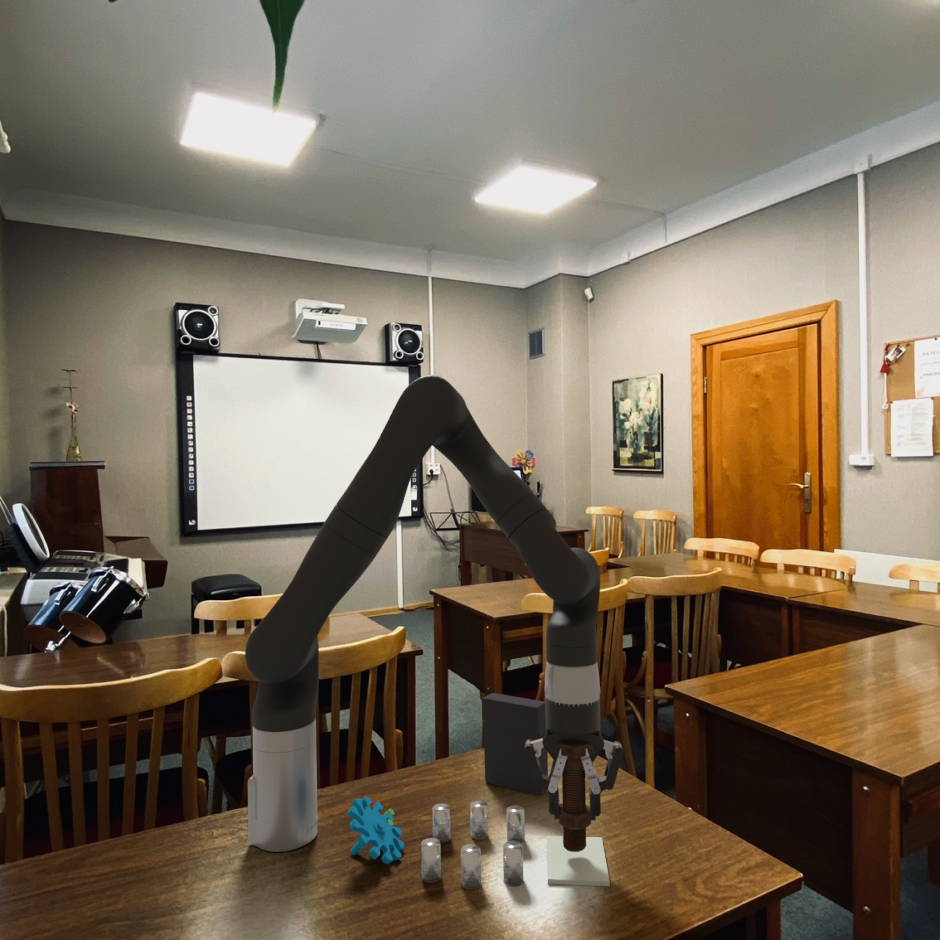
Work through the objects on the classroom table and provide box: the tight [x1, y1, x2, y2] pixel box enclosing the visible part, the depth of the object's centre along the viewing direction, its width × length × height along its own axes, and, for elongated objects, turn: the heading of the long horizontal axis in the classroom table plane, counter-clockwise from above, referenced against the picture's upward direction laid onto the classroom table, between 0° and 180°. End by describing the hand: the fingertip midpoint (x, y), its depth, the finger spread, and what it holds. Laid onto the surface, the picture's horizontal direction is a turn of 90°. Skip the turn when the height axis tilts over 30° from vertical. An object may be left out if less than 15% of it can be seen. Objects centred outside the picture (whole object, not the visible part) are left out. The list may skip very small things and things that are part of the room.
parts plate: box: [546, 835, 611, 887], centre depth 95 cm, size 8×11×1 cm
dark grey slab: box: [481, 692, 549, 797], centre depth 119 cm, size 11×4×15 cm, turn 58°
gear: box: [347, 796, 405, 865], centre depth 98 cm, size 11×6×10 cm
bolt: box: [556, 742, 593, 852], centre depth 95 cm, size 6×5×15 cm
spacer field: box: [420, 800, 526, 891], centre depth 96 cm, size 14×15×4 cm
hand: (574, 816), depth 95 cm, fingers closed on bolt, 4 cm apart
